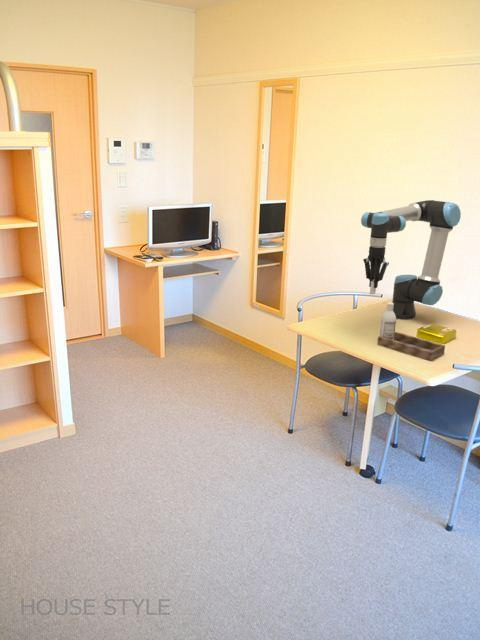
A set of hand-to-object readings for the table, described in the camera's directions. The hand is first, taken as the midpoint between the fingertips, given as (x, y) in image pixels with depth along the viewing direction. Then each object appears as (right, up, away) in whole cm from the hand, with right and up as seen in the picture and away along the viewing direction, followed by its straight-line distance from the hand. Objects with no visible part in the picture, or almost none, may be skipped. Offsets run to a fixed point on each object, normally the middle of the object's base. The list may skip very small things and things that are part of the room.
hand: (372, 293), depth 264 cm
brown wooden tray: (+16, -27, -8) cm, 32 cm away
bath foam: (+7, -24, +1) cm, 25 cm away
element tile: (+34, -22, +9) cm, 42 cm away
